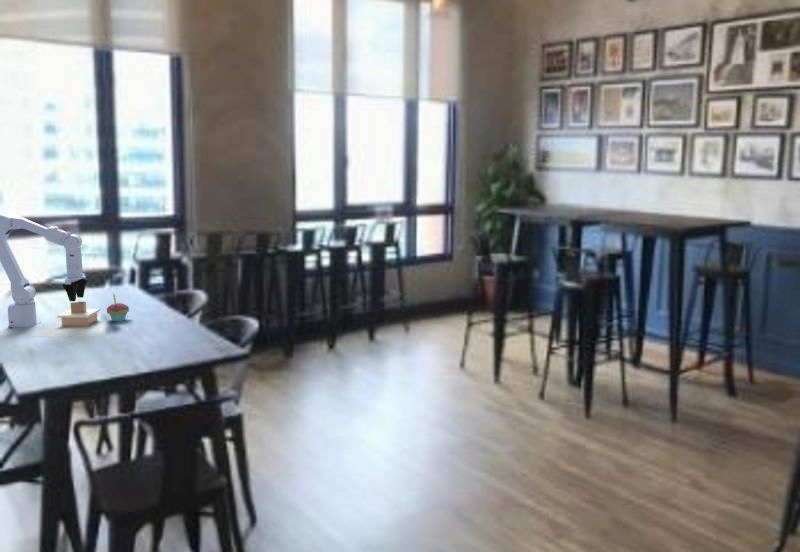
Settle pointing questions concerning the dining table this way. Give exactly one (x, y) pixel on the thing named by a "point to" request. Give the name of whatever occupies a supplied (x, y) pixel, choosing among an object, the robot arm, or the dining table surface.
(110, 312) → the cupcake
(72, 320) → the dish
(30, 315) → the robot arm
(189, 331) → the dining table surface
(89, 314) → the lid
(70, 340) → the dining table surface
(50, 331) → the mat
